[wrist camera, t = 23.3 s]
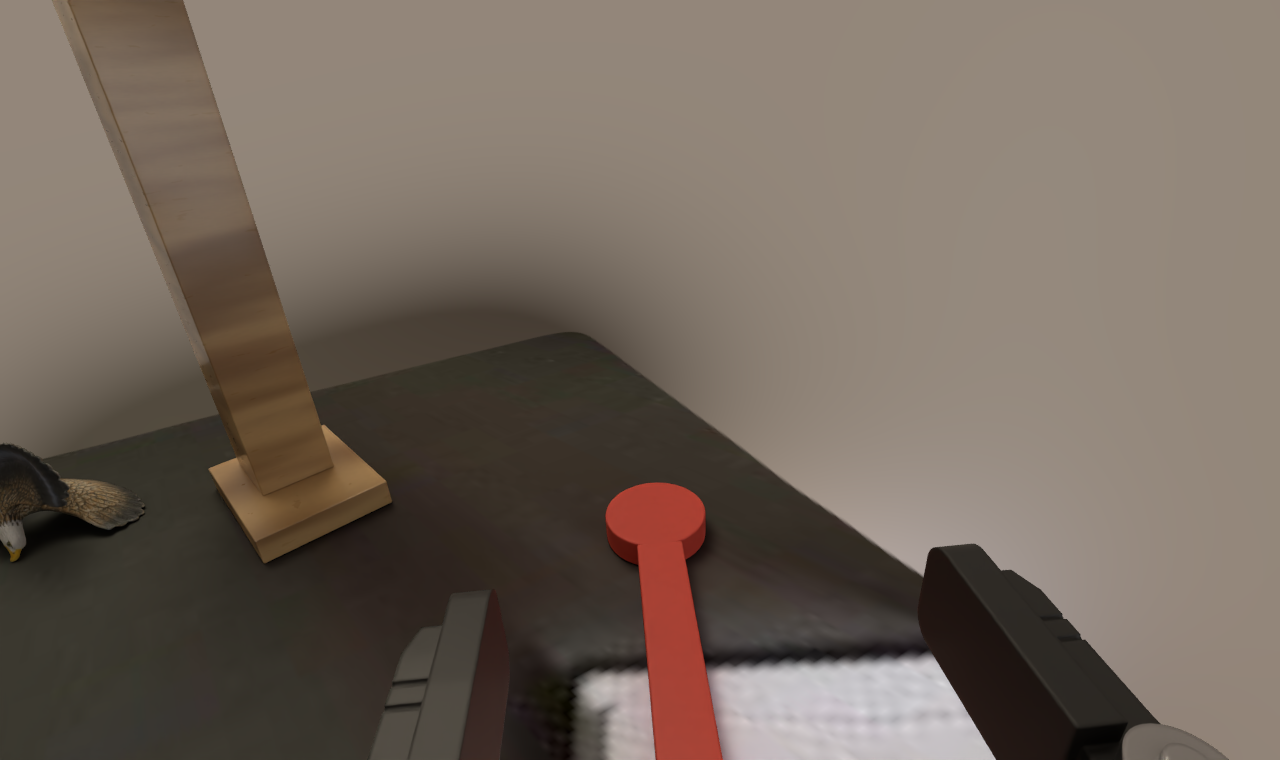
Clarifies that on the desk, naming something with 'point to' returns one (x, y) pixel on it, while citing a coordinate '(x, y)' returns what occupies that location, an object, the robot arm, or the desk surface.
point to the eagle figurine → (55, 497)
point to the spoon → (668, 613)
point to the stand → (216, 272)
